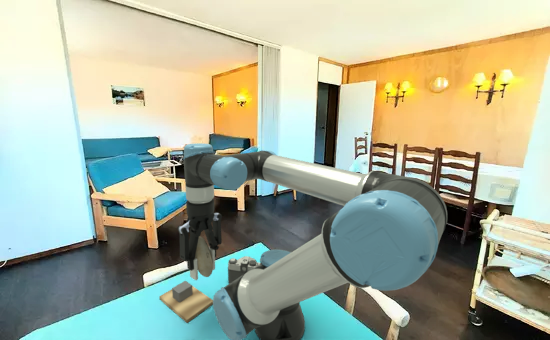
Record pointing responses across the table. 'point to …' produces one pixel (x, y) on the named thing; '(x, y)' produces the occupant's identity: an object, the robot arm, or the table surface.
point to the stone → (204, 258)
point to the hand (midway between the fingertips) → (203, 272)
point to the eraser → (182, 291)
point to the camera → (240, 267)
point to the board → (187, 304)
